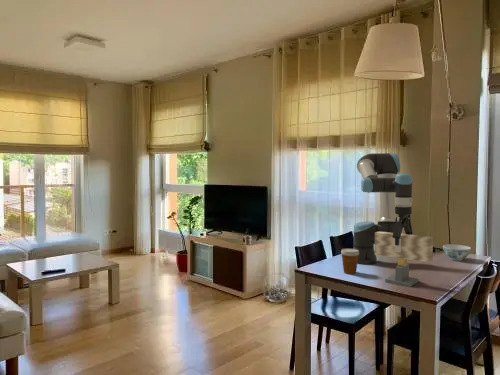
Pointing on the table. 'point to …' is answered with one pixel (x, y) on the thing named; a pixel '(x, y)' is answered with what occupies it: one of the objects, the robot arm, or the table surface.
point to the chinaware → (456, 251)
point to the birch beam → (405, 246)
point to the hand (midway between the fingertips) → (402, 249)
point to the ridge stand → (402, 275)
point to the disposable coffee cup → (350, 260)
